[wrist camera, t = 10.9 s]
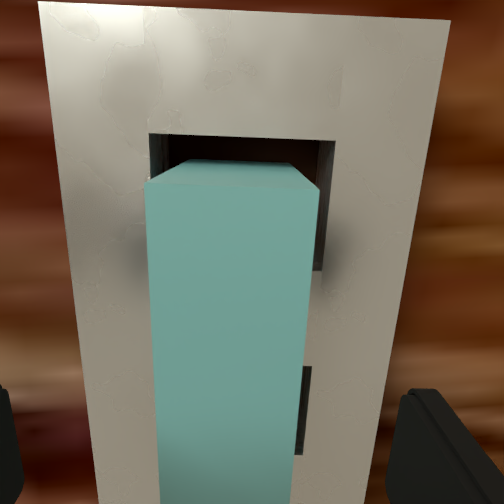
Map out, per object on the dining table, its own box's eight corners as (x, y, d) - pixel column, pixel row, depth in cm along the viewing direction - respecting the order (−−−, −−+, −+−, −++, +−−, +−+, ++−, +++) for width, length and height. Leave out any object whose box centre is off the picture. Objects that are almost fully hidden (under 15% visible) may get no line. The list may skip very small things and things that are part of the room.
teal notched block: (273, 388, 19) (286, 533, 12) (193, 386, 19) (161, 530, 12) (289, 162, 15) (319, 189, 9) (190, 158, 15) (143, 183, 8)
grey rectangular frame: (345, 460, 20) (361, 515, 17) (121, 455, 20) (99, 509, 17) (409, 42, 14) (450, 20, 11) (82, 27, 14) (37, 1, 11)
